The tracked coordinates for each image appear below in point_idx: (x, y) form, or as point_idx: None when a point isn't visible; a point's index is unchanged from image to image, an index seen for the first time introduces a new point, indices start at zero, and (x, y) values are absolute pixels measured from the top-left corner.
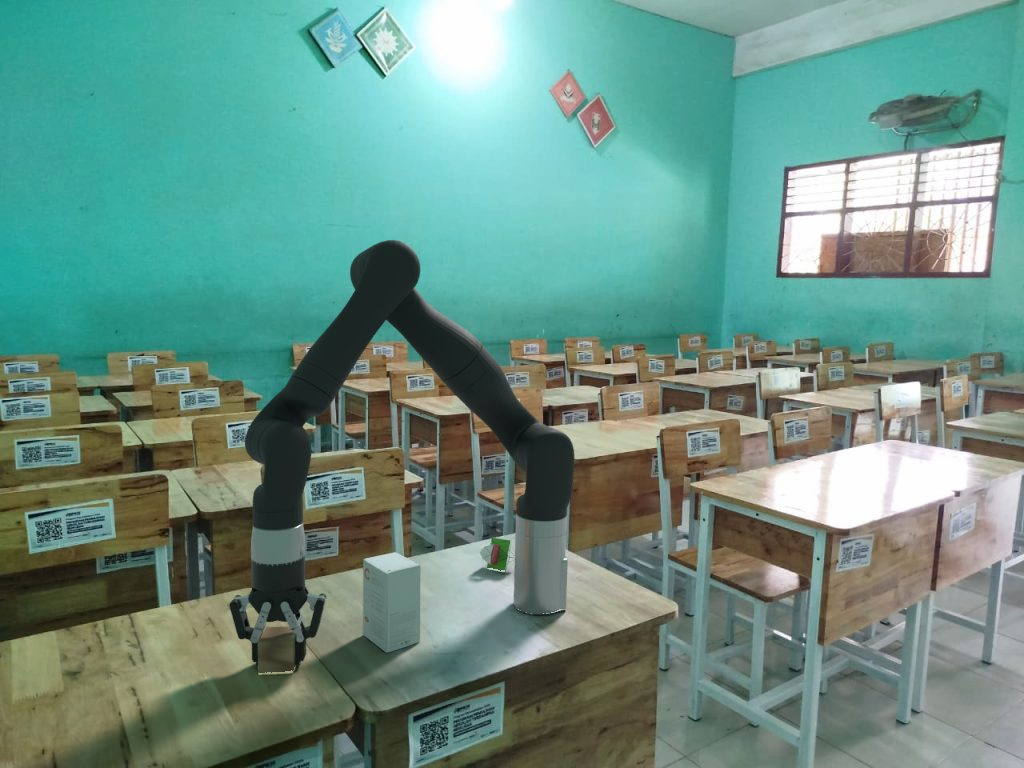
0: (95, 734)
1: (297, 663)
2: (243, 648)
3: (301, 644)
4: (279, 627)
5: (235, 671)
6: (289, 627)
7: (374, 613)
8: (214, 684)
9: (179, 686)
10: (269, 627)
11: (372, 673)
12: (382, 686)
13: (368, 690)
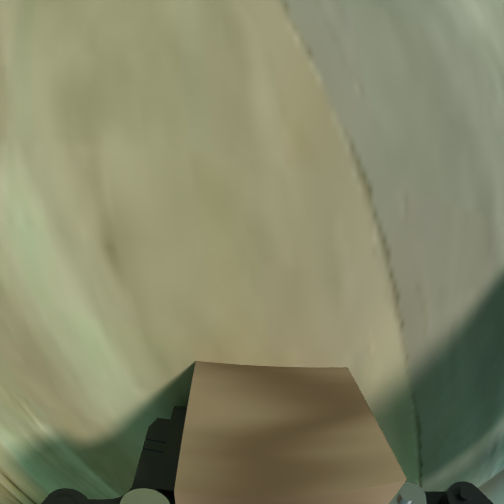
0: (2, 498)
1: None
2: (64, 243)
3: None
4: (276, 502)
5: (106, 424)
6: (344, 497)
7: None
8: (83, 463)
9: (10, 439)
10: (202, 499)
11: (494, 427)
12: (483, 461)
13: (458, 477)
